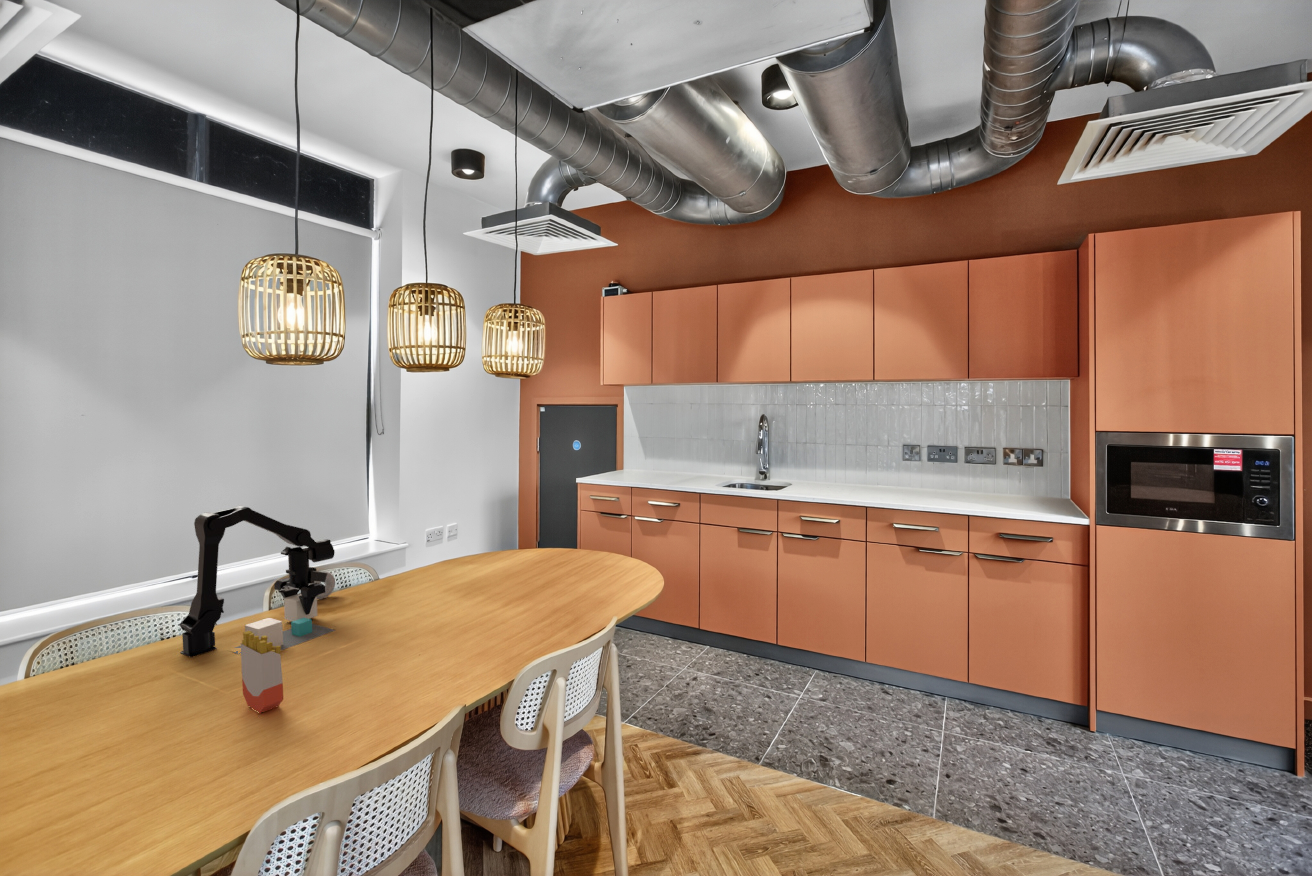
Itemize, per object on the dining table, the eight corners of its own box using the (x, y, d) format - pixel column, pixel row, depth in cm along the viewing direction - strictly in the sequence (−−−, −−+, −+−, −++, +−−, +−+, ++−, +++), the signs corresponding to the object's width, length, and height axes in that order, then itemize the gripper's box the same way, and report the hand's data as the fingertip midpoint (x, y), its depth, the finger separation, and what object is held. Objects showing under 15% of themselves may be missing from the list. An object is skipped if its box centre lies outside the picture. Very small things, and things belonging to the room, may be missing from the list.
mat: (255, 660, 164) (254, 659, 164) (227, 651, 170) (227, 650, 170) (336, 630, 185) (336, 629, 185) (308, 623, 192) (308, 622, 192)
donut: (313, 603, 210) (312, 576, 210) (306, 602, 211) (305, 575, 211) (337, 595, 219) (337, 568, 219) (331, 594, 221) (330, 567, 220)
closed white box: (297, 622, 189) (296, 601, 188) (284, 619, 192) (283, 598, 192) (317, 615, 195) (316, 595, 194) (305, 612, 198) (304, 592, 197)
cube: (299, 636, 180) (298, 623, 180) (291, 634, 182) (291, 621, 182) (312, 632, 183) (311, 619, 183) (304, 629, 185) (303, 617, 185)
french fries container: (264, 695, 144) (260, 624, 143) (285, 708, 138) (282, 634, 137) (243, 703, 141) (239, 630, 139) (264, 717, 135) (260, 640, 133)
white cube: (259, 652, 168) (258, 629, 168) (246, 648, 171) (244, 625, 171) (283, 644, 174) (282, 621, 174) (270, 640, 177) (269, 617, 177)
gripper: (340, 563, 195) (341, 609, 196) (305, 556, 204) (307, 600, 205) (307, 571, 185) (309, 620, 186) (272, 564, 194) (274, 610, 195)
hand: (300, 612), depth 193 cm, fingers open, 7 cm apart
